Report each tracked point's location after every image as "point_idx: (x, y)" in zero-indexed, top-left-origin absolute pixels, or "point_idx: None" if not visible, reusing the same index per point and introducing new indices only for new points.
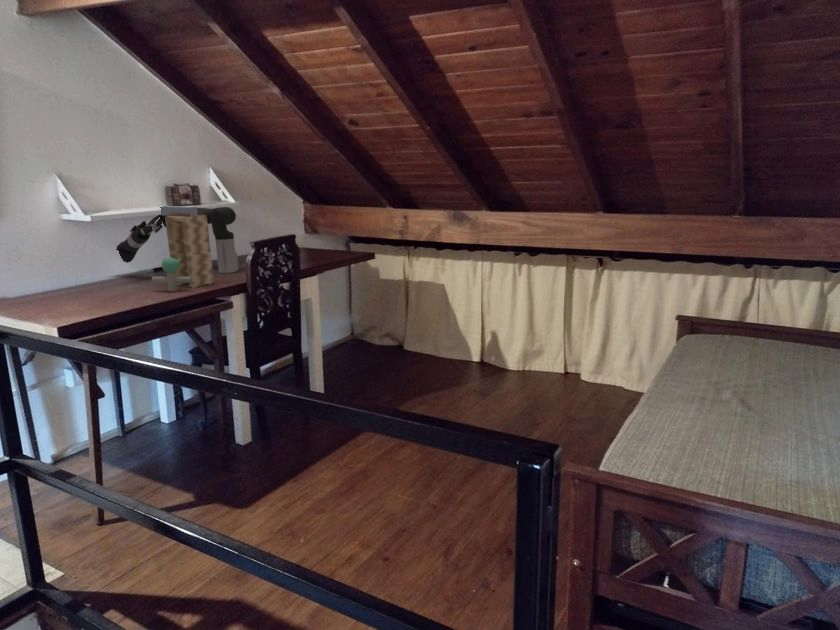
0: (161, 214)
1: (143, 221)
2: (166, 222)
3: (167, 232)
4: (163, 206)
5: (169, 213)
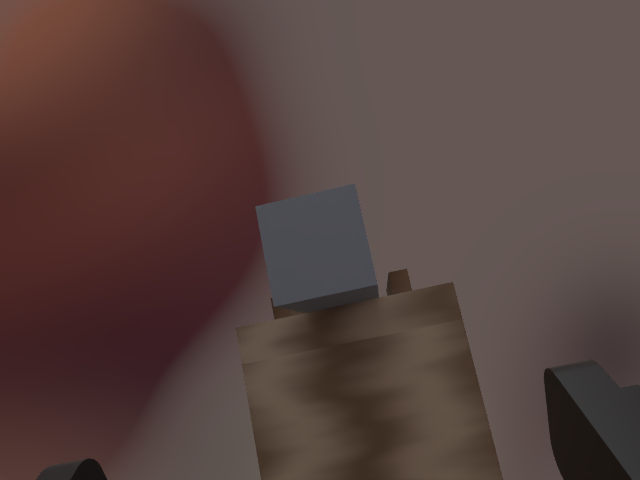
0: (374, 274)
1: (594, 370)
2: (463, 331)
3: (486, 421)
4: (315, 193)
5: (401, 270)
